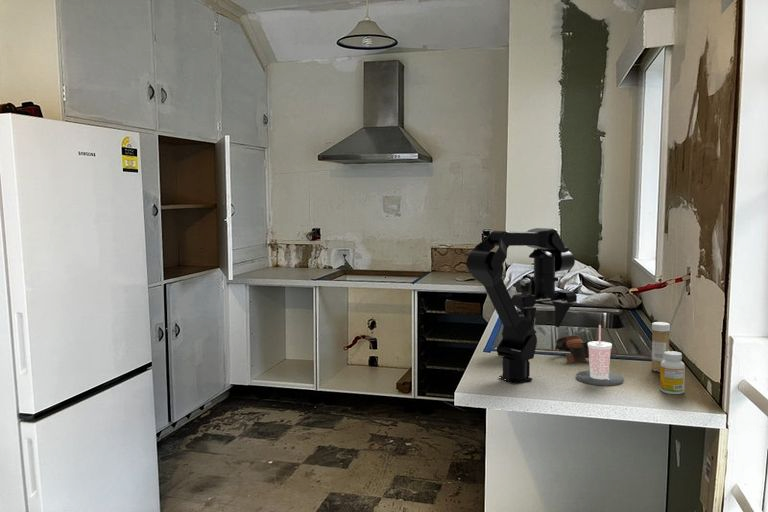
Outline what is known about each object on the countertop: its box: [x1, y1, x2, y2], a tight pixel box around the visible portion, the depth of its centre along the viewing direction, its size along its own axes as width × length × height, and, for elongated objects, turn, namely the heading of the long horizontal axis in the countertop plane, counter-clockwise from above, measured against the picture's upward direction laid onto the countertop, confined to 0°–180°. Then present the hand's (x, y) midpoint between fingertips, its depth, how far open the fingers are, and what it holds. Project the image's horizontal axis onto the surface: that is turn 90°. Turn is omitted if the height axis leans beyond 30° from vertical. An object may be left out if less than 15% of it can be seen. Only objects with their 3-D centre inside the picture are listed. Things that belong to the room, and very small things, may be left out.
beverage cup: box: [588, 324, 613, 379], centre depth 159 cm, size 6×6×14 cm
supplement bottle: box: [659, 350, 686, 395], centre depth 148 cm, size 5×5×10 cm
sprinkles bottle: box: [651, 321, 671, 373], centre depth 166 cm, size 5×5×13 cm
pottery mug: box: [554, 335, 593, 364], centre depth 180 cm, size 12×10×8 cm
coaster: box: [575, 369, 625, 387], centre depth 160 cm, size 12×12×1 cm
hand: (544, 328), depth 167 cm, fingers open, 9 cm apart
